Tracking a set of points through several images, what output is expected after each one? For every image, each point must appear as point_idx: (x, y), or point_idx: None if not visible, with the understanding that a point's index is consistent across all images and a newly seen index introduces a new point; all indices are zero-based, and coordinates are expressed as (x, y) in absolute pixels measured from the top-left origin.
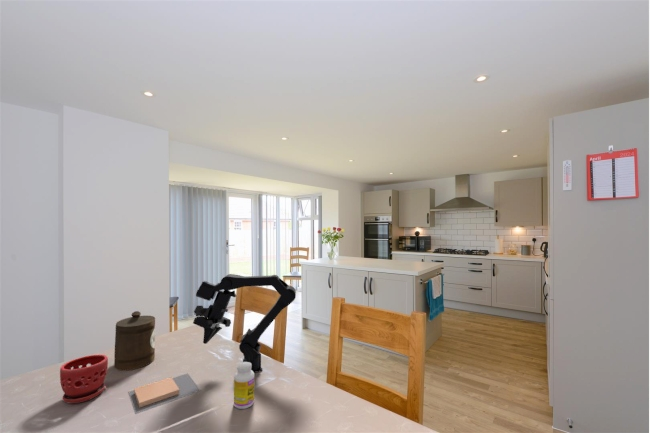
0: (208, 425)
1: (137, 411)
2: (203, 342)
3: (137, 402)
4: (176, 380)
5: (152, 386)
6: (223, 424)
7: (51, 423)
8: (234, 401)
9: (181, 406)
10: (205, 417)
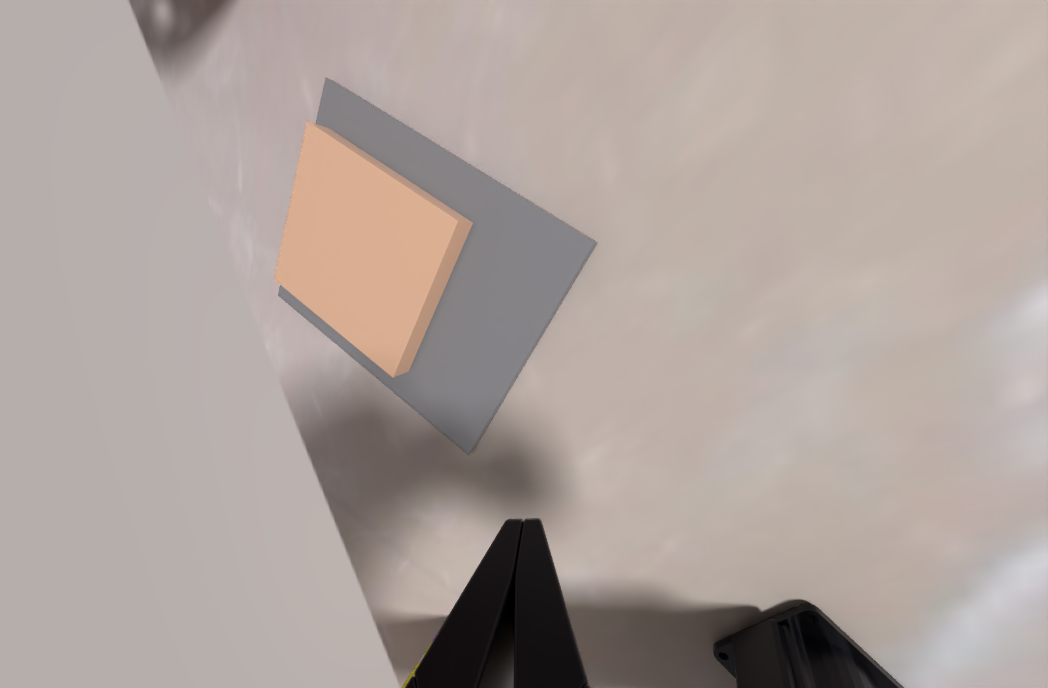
0: (356, 562)
1: (285, 290)
2: (501, 529)
3: None
4: (495, 243)
5: (354, 206)
6: (376, 604)
7: (152, 24)
8: (431, 643)
9: (378, 425)
10: (374, 540)
